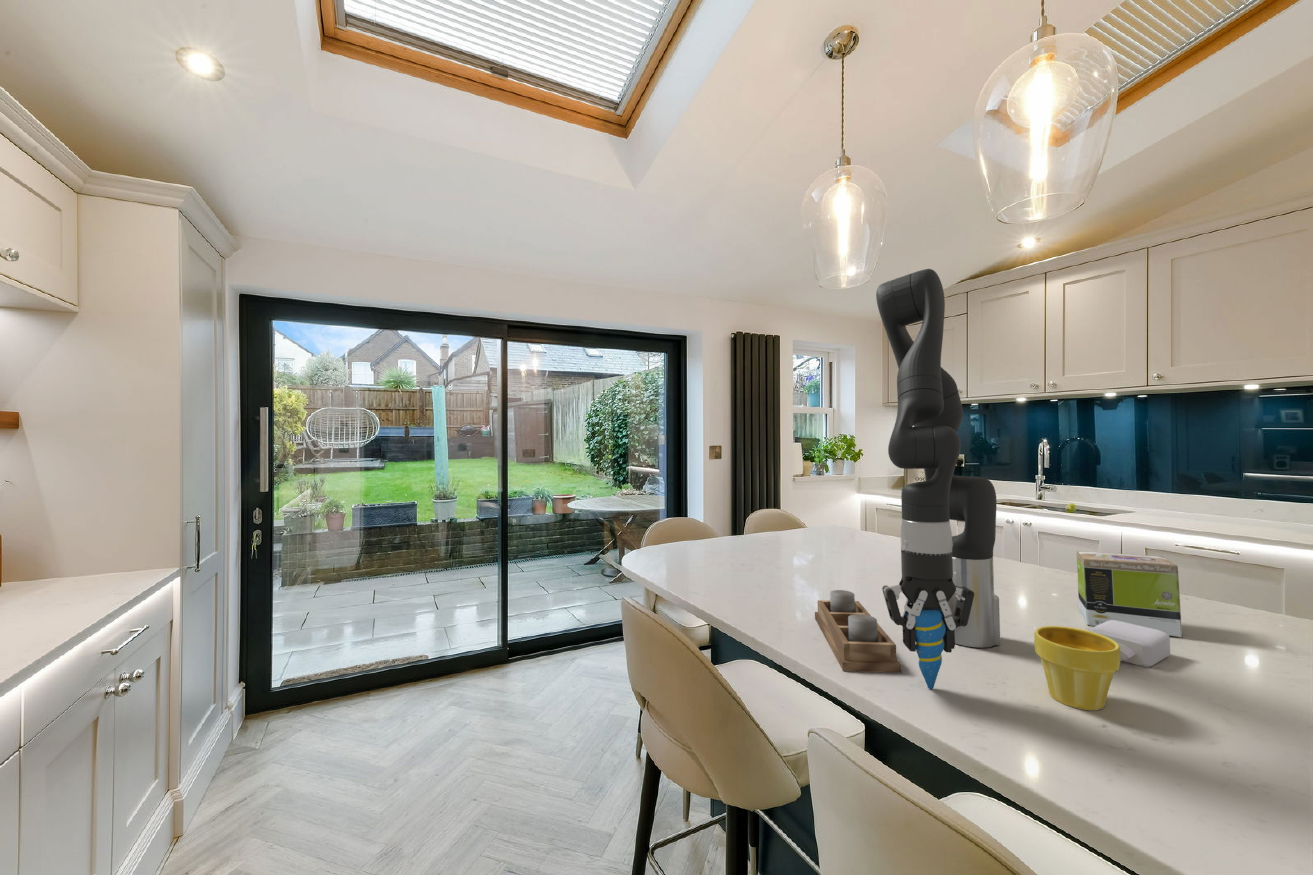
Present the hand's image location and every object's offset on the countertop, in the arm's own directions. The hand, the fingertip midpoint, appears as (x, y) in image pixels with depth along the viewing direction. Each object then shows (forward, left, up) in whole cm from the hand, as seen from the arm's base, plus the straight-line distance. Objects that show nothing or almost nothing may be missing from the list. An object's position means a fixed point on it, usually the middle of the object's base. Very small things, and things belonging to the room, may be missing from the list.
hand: (928, 649), depth 84 cm
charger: (-39, -15, -7) cm, 43 cm away
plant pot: (-21, +2, -7) cm, 22 cm away
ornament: (0, 0, -7) cm, 7 cm away
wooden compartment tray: (+8, -19, -6) cm, 21 cm away
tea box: (-53, -33, -7) cm, 63 cm away
